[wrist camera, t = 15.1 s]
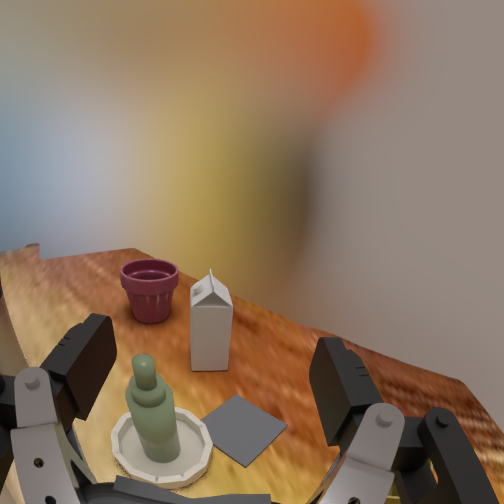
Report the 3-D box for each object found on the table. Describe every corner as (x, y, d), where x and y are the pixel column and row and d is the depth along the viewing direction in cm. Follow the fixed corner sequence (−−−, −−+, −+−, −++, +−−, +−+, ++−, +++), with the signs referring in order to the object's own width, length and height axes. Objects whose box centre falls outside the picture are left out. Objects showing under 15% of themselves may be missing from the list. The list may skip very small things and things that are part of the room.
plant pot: (169, 297, 76) (169, 255, 71) (186, 324, 64) (186, 276, 60) (121, 304, 68) (117, 260, 64) (129, 333, 57) (123, 283, 53)
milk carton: (223, 349, 57) (229, 269, 51) (227, 371, 51) (235, 286, 45) (190, 349, 56) (190, 268, 50) (191, 371, 49) (191, 285, 43)
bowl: (159, 506, 21) (155, 500, 21) (99, 438, 29) (94, 428, 28) (231, 453, 33) (232, 444, 32) (167, 402, 41) (166, 391, 40)
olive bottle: (159, 469, 27) (135, 388, 21) (135, 444, 30) (107, 356, 24) (188, 450, 31) (180, 364, 25) (163, 428, 34) (149, 338, 29)
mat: (245, 467, 30) (245, 466, 30) (191, 427, 36) (191, 426, 36) (287, 426, 39) (287, 424, 39) (236, 395, 45) (236, 393, 45)
